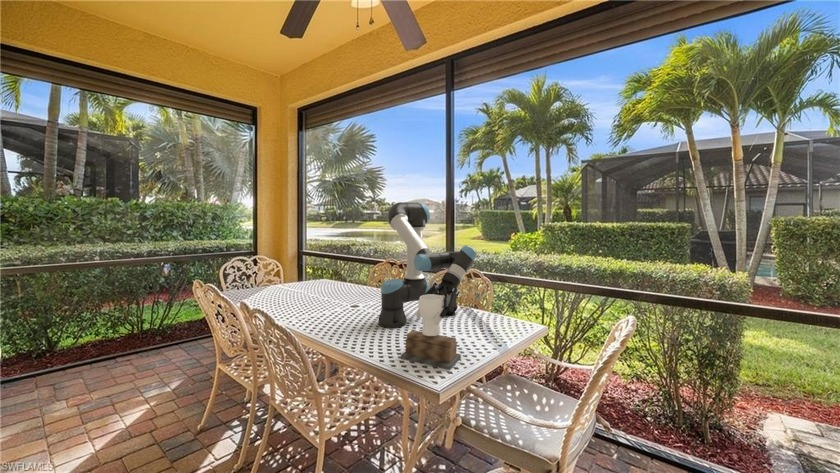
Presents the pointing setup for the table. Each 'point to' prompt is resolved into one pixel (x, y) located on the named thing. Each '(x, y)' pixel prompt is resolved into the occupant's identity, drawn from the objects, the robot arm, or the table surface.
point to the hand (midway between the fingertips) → (425, 319)
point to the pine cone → (452, 311)
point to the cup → (430, 313)
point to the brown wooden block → (431, 350)
